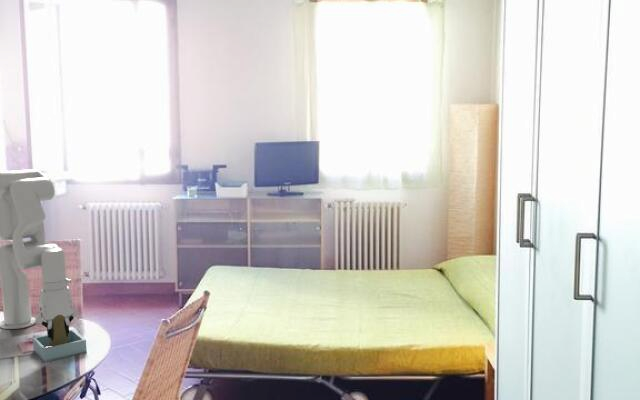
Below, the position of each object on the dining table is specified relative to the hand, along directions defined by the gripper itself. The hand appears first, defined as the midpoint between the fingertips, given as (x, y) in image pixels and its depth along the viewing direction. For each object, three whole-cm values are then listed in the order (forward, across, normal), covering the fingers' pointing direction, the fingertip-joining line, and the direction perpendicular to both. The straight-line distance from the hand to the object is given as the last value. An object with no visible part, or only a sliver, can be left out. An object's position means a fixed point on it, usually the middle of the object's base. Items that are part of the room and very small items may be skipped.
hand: (58, 337), depth 226 cm
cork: (+2, 0, 0) cm, 2 cm away
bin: (+5, 0, 0) cm, 5 cm away
